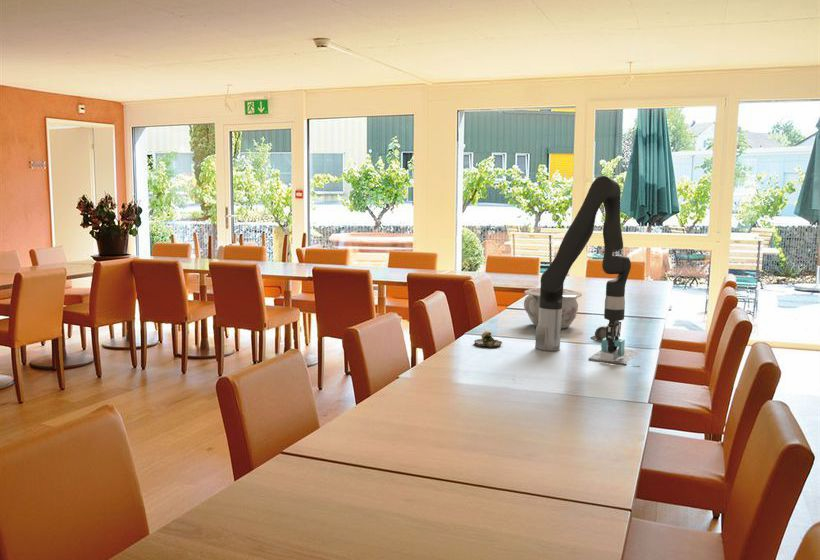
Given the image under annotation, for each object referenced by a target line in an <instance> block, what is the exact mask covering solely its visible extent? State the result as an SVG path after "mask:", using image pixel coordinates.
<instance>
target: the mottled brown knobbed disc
mask: <svg viewBox="0 0 820 560" xmlns="http://www.w3.org/2000/svg"><path fill="white" fill-rule="evenodd" d="M502 344H503V341H502V340H501V341H500V340H498V339H495V338H494V337H493V336H492V332H491V331H486V330H485V331H484V332H483V333H482V334H481V338H479V339H475V340H474V343H473V346H475V347H478V348H482V347H489V348H491V347H492V348H493V347H498V346H500V345H502Z"/></svg>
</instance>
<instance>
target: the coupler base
mask: <svg viewBox="0 0 820 560" xmlns="http://www.w3.org/2000/svg"><path fill="white" fill-rule="evenodd" d="M641 352H642V351H641V350H636V349H629V348H624V355H623V356H622V357H618V348H617V349H614V351H613V352H611V351H608V350H606V351H605V352H601V350H599V351H597V352H595V354H593V355H591V356H590V357H588V361H589V362H595V363H596V362H597V363H602V364H609V365H615V366H620V367H621V366H622V367H626V366H627V365H628V362H630V361H631V360H632V359H633V358H634V357H636V356H637V355H638V354H640V353H641Z"/></svg>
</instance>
